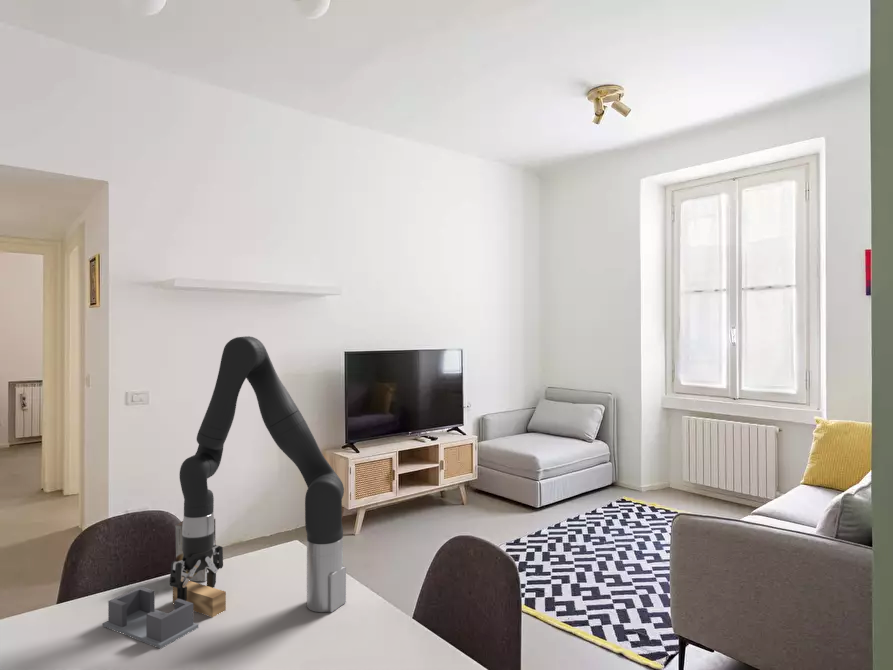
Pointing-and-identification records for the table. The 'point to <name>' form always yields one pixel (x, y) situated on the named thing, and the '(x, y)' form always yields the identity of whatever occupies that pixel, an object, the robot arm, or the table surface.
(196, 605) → the wooden block
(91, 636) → the table surface
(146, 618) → the end caps
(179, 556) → the coffee box
